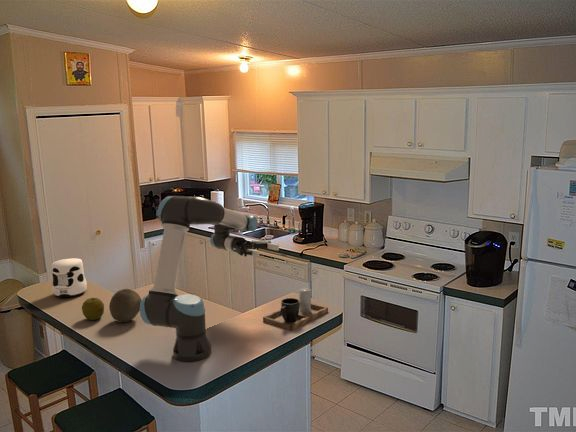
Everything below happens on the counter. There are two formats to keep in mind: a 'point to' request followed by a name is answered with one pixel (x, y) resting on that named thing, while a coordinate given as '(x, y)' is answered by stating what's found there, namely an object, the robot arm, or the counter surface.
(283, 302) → the mug
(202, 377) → the counter surface
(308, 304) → the grey upright cylinder
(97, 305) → the apple
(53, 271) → the white trooper helmet
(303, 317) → the frame
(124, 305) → the cantaloupe
